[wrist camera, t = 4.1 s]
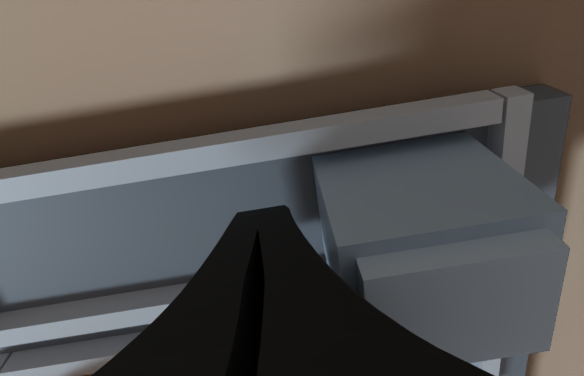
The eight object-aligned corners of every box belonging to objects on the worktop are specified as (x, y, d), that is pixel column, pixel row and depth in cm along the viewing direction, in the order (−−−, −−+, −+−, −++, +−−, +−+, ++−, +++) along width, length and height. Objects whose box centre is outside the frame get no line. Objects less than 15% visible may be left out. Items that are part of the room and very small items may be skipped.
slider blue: (461, 228, 12) (562, 358, 8) (324, 251, 12) (356, 391, 8) (465, 131, 11) (592, 228, 7) (311, 156, 11) (343, 269, 7)
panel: (494, 447, 19) (518, 494, 18) (90, 510, 20) (74, 564, 18) (546, 65, 11) (598, 82, 10) (-143, 177, 12) (-216, 214, 10)
